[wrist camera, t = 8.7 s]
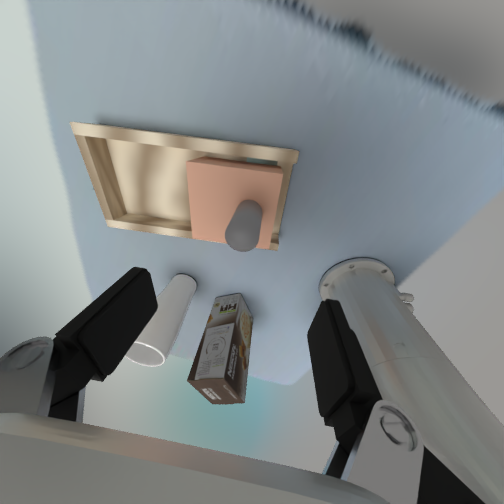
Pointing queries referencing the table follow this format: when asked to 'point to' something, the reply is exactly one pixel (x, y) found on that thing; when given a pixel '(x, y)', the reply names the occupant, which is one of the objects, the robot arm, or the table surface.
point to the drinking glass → (164, 323)
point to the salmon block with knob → (233, 201)
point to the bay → (161, 174)
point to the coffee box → (224, 352)
